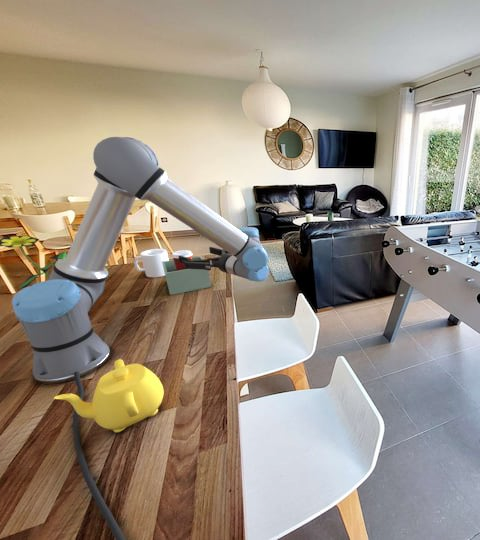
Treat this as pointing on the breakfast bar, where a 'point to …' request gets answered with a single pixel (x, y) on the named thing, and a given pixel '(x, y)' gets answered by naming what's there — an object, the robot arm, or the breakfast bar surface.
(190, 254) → the paper cup
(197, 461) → the breakfast bar surface
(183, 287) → the open storage box
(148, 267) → the mug
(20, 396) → the breakfast bar surface
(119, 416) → the teapot
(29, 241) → the potted plant
